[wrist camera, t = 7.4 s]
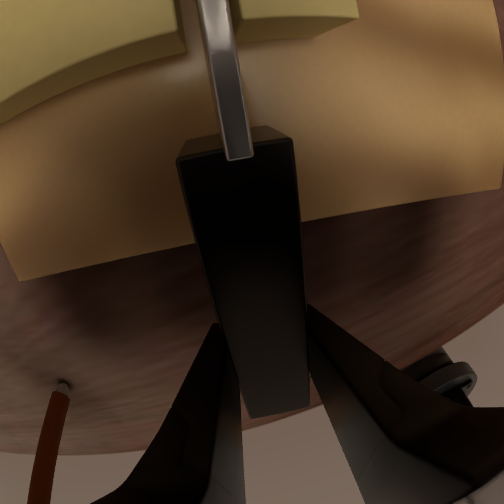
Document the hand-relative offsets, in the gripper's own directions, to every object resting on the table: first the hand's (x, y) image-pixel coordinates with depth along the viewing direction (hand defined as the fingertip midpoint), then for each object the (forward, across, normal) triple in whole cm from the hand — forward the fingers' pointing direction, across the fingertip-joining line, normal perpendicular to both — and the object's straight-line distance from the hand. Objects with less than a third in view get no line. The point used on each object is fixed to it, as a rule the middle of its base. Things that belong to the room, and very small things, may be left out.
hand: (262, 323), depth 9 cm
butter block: (+2, +4, -10) cm, 11 cm away
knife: (+1, 0, -6) cm, 6 cm away
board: (+3, -2, -9) cm, 10 cm away
